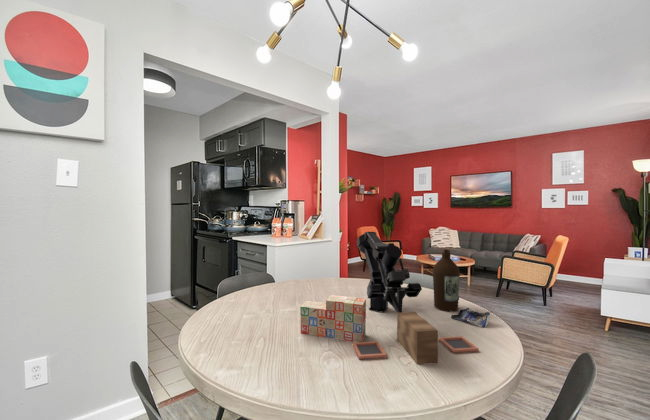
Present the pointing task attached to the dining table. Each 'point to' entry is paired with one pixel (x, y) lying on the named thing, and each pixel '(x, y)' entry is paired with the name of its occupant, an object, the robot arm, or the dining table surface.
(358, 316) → the stack of blocks
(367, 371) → the dining table surface
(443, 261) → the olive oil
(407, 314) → the walnut brick
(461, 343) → the tile
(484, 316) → the snack package
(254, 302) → the dining table surface
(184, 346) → the dining table surface
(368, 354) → the tile
